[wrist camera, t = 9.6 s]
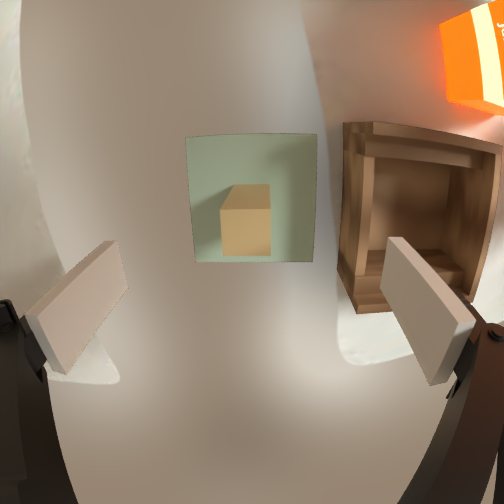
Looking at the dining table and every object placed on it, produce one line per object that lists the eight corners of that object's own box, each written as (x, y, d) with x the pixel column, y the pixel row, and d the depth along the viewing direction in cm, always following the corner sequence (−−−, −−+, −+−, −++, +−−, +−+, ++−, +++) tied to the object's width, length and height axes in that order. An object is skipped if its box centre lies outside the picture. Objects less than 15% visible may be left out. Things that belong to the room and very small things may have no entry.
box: (343, 123, 23) (373, 121, 16) (453, 137, 22) (502, 145, 15) (337, 269, 28) (356, 314, 21) (437, 265, 28) (472, 302, 21)
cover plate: (188, 137, 24) (150, 143, 16) (314, 134, 24) (340, 137, 15) (198, 256, 29) (172, 310, 20) (310, 256, 28) (327, 311, 20)
